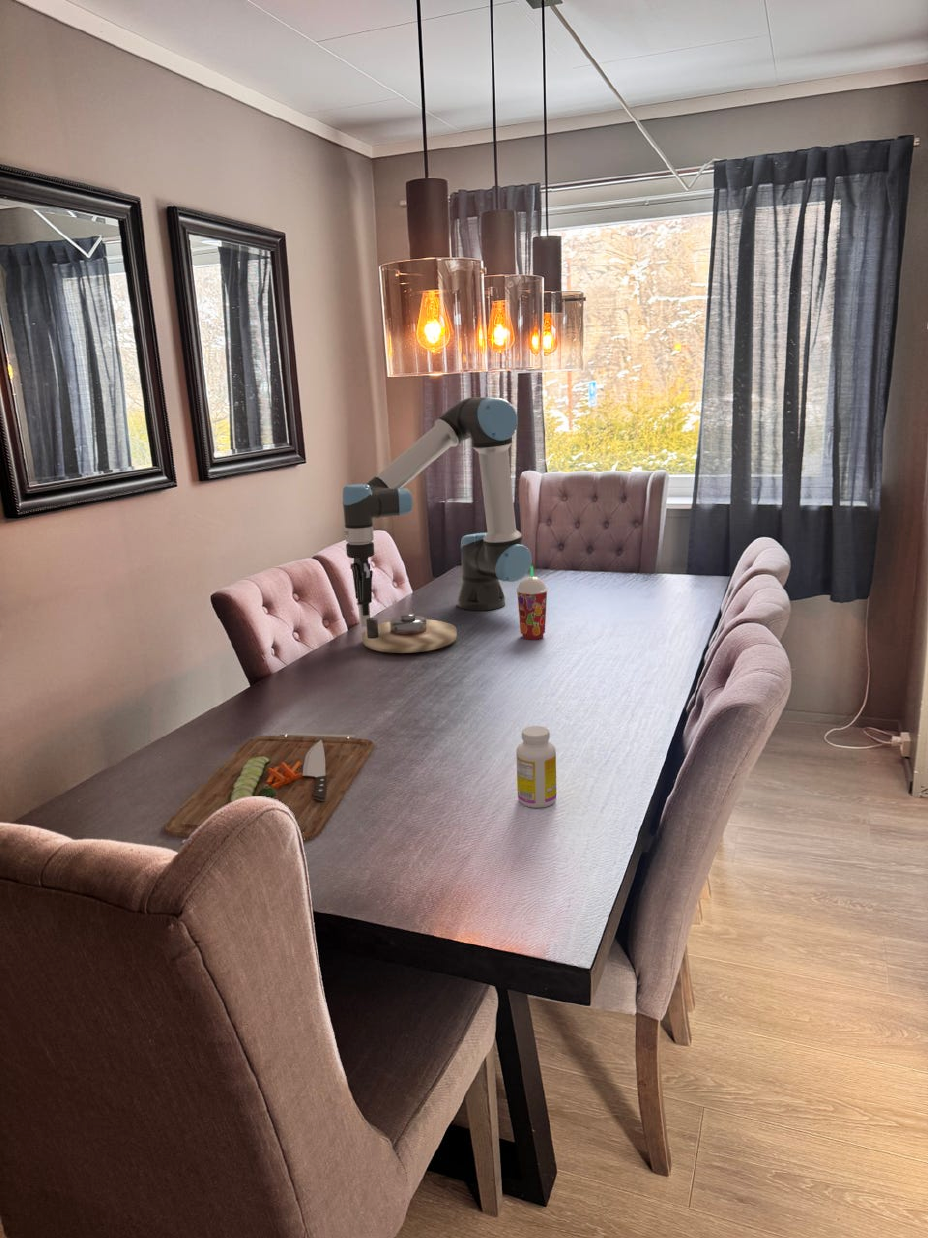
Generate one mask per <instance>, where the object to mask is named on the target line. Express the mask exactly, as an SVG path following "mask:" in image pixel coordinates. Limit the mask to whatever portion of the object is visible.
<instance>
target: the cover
mask: <svg viewBox="0 0 928 1238" xmlns="http://www.w3.org/2000/svg"><path fill="white" fill-rule="evenodd" d="M426 619H427V618H426V617H425V616H421V615H416V614H415V613H413V612H406V613H401V614H400V616H397V617H393V618H392V619H390V620H389V622H390V631H391V633H392V634H394V635H400V636H411V635H418V634H422V633H424V632H426V630H427V628H426Z"/></svg>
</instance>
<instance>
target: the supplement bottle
mask: <svg viewBox="0 0 928 1238" xmlns="http://www.w3.org/2000/svg"><path fill="white" fill-rule="evenodd" d="M550 737H551V736H550V729H549V728H548V727H544V726H540V725H530V726H526V727H524V728H523V729H522V730H521V740H522V742H521V743H519V744H518V745H517V748H516V752H515V753H516V755H515V756H516V778H517V779H516V780H517V798H518V799H517V800H518V801H519V803H521V805H522V806H525V807H528V808H534V809H535V808H536V809H537V808H538V809H539V808H546V807H547V808H548V807H550V806H552V805H553V804H554V803H555V802H556V801H557V753H556V747H555V745H554V744H553V743H552V742H551V741H549V740H550Z"/></svg>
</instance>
